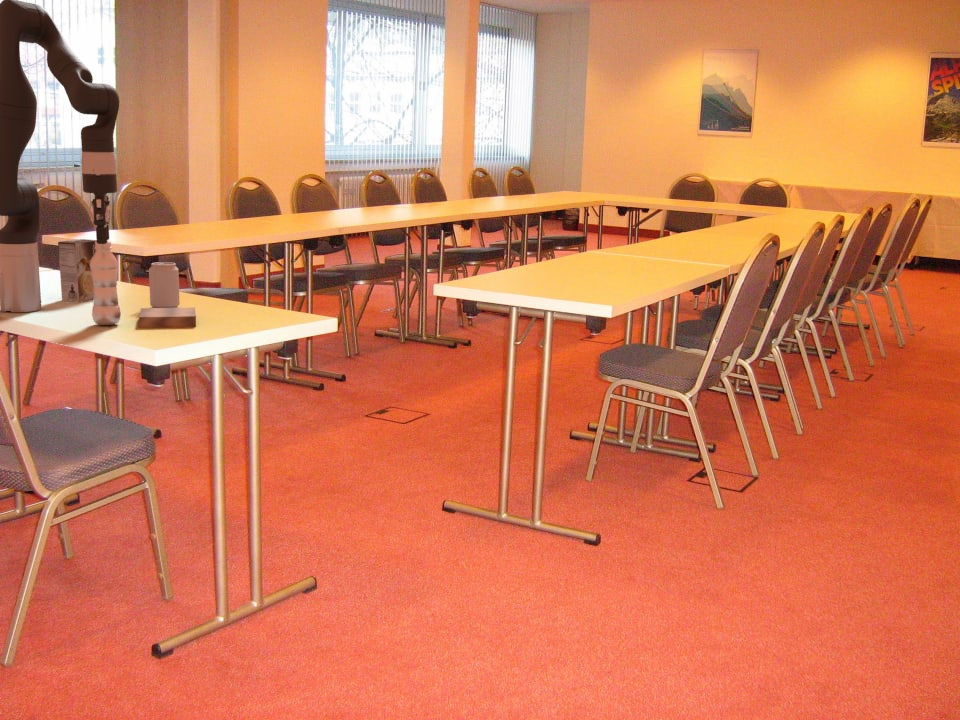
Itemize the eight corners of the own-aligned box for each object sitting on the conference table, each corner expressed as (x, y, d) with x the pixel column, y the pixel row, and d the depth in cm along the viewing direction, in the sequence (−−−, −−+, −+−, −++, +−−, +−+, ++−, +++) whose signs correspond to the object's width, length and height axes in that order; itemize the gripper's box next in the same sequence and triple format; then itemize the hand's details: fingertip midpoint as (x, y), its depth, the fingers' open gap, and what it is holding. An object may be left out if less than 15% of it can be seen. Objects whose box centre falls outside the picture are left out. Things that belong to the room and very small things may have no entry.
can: (171, 310, 261) (169, 265, 259) (144, 309, 263) (143, 263, 260) (184, 306, 268) (183, 262, 266) (159, 304, 270) (157, 260, 267)
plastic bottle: (93, 328, 235) (88, 243, 231) (91, 323, 241) (87, 240, 237) (122, 326, 238) (118, 242, 233) (120, 321, 244) (116, 239, 239)
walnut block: (139, 327, 237) (138, 317, 237) (141, 318, 249) (140, 308, 249) (196, 326, 241) (195, 316, 240) (195, 317, 253) (195, 307, 253)
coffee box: (85, 295, 280) (82, 238, 277) (103, 297, 278) (100, 240, 275) (60, 300, 272) (57, 241, 269) (79, 302, 270) (75, 242, 266)
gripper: (84, 170, 237) (88, 239, 241) (79, 172, 224) (83, 245, 227) (118, 171, 240) (121, 239, 243) (114, 173, 226) (118, 244, 230)
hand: (103, 241), depth 235 cm, fingers open, 8 cm apart
